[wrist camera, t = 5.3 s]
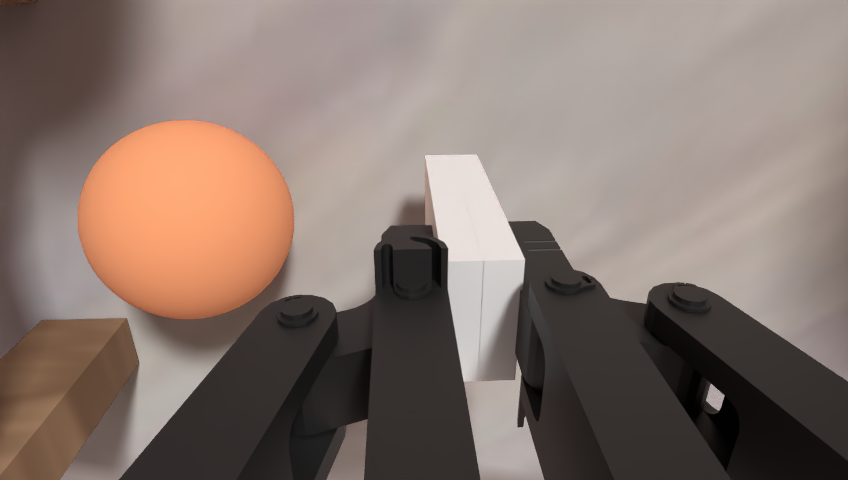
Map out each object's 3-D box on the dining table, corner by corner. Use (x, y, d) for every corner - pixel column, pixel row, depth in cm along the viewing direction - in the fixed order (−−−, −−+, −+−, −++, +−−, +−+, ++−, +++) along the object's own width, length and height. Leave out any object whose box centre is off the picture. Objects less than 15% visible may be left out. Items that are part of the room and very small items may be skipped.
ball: (-10, 146, 13) (167, 99, 17) (68, 340, 15) (205, 254, 20) (171, 159, 11) (316, 102, 16) (228, 378, 13) (339, 273, 18)
